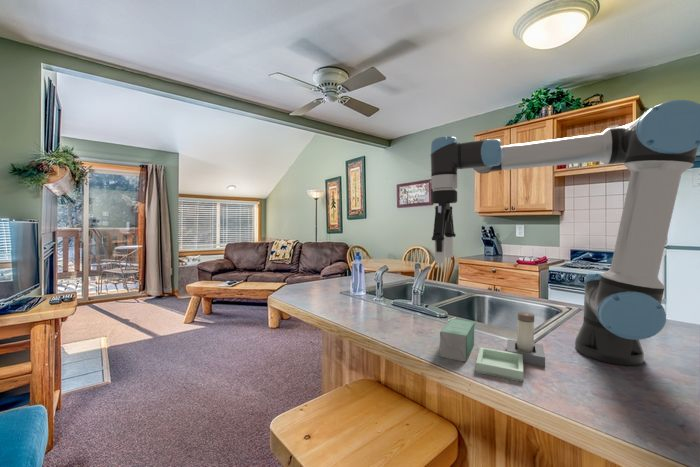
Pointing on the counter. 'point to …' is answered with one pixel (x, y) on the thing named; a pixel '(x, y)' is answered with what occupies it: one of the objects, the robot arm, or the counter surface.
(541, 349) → the holder
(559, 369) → the counter surface
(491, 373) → the tray
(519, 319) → the block
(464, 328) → the box
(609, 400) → the counter surface
